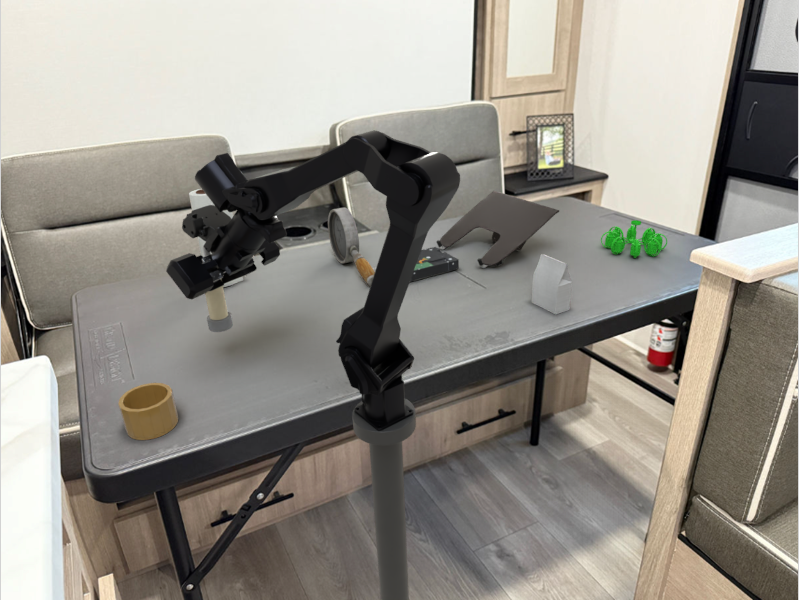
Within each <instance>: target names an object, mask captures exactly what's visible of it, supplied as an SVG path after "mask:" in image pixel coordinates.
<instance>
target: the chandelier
mask: <svg viewBox="0 0 799 600" xmlns="http://www.w3.org/2000/svg"><path fill="white" fill-rule="evenodd" d="M641 225H642V221H641V220H631V221H630V226H629V228H628V229H627V232H626V237H625V236H624V232H623V229H622V228H620V227H619V226H615V225H614V226H612V227H611V228H609V230H608V231H606V232H604V233H602V235H601V237H600V243H601V245H602V246H603V248H606V249H610V252H611V253H612V254H613V255H620V254H621V253H622V252H623V250H624V249H625V246H626V245H627V244H631V246H630V252H629V254H630V256H632V257H633V258H634V259H637V258H638V257H639V256H640V255H641V251H642V250H641V249H642V246H641V245H643V249H644V251H645V254H647V256H649V257H656V256H658V255H659V254H660V253H661V251H663V250H664V249H665V248H666V247H667V245H668V238H667V236H666V235H664V234H662V233H656V230H655V229H654V228H653V227H648V228H646V229H645V230H644V232H643V233H642V236H641V237H640V238H637V226H641ZM605 235H606V236H605ZM604 236H605V241H604V243H603V237H604ZM663 237H664V238H665V243H664V244H665V245H663V241H664V240H663Z"/></svg>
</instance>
